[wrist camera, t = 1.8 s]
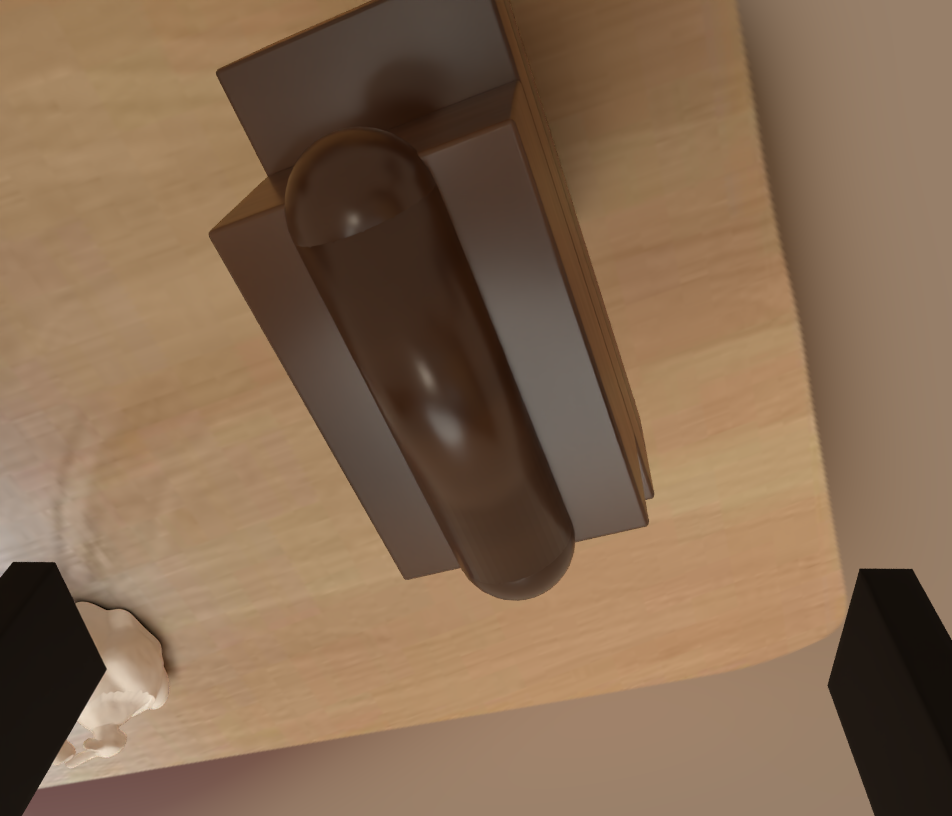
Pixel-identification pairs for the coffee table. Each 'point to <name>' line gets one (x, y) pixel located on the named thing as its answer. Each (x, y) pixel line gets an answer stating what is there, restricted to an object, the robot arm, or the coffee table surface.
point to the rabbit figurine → (117, 681)
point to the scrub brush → (435, 290)
